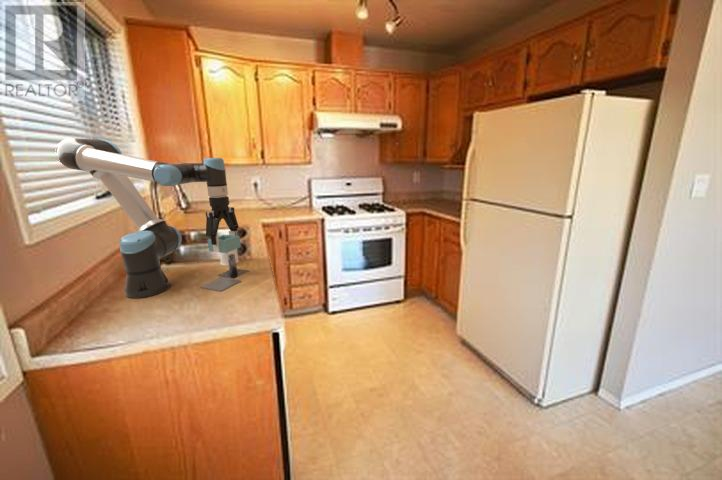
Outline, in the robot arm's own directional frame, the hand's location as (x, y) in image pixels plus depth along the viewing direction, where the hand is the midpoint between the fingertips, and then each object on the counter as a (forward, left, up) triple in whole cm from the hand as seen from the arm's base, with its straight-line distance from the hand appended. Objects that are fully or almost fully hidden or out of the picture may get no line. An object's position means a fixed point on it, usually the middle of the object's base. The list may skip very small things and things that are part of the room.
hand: (225, 248), depth 139 cm
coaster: (+4, -8, -13) cm, 16 cm away
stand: (-1, +4, -13) cm, 14 cm away
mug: (-13, +14, -13) cm, 23 cm away
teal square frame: (0, 0, 0) cm, 0 cm away
